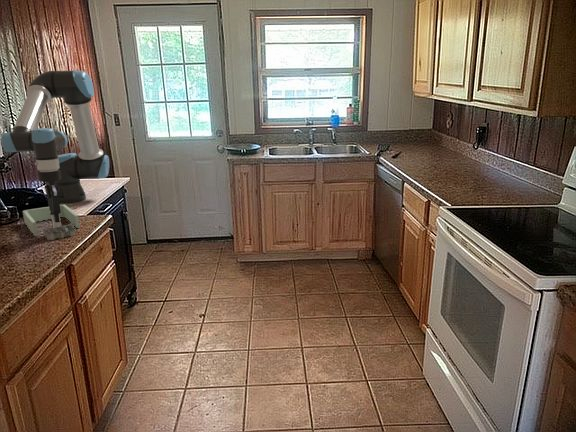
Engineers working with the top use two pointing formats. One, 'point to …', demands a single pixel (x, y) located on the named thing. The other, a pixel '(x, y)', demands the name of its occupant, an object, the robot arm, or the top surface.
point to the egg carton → (60, 232)
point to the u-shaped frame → (47, 217)
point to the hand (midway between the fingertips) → (57, 229)
